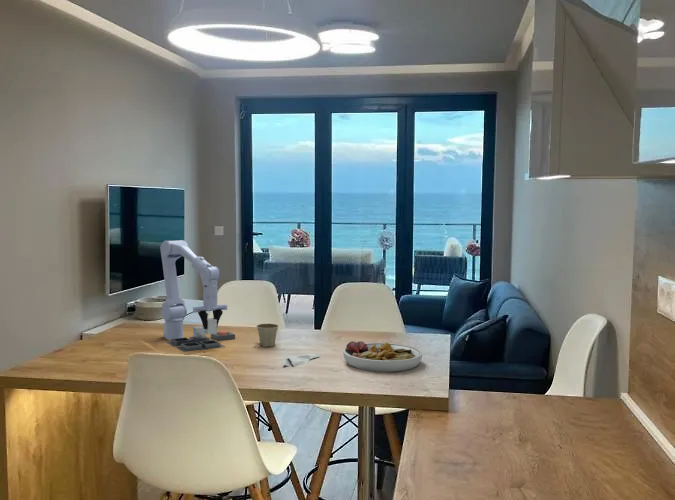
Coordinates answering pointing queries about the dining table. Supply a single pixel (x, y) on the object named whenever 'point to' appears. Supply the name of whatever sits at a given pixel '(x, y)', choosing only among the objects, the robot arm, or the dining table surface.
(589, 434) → the dining table surface
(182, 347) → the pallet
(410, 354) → the bowl
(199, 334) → the billet
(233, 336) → the box
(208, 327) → the billet
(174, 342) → the pallet
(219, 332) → the button
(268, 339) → the flower pot
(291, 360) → the cloth
